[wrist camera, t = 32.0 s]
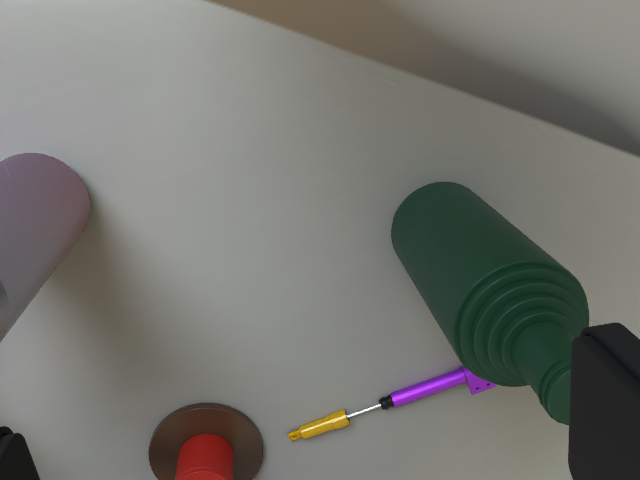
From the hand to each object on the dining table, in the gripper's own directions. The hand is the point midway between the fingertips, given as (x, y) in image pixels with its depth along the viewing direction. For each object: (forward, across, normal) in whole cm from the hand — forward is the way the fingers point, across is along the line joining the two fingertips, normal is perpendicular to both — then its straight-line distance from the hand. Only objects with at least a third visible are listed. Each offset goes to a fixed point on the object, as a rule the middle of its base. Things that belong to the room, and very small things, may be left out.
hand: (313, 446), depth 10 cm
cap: (+27, +8, +22) cm, 36 cm away
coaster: (+28, +8, +22) cm, 37 cm away
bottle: (+28, -10, +8) cm, 31 cm away
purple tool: (+29, -6, +21) cm, 36 cm away
